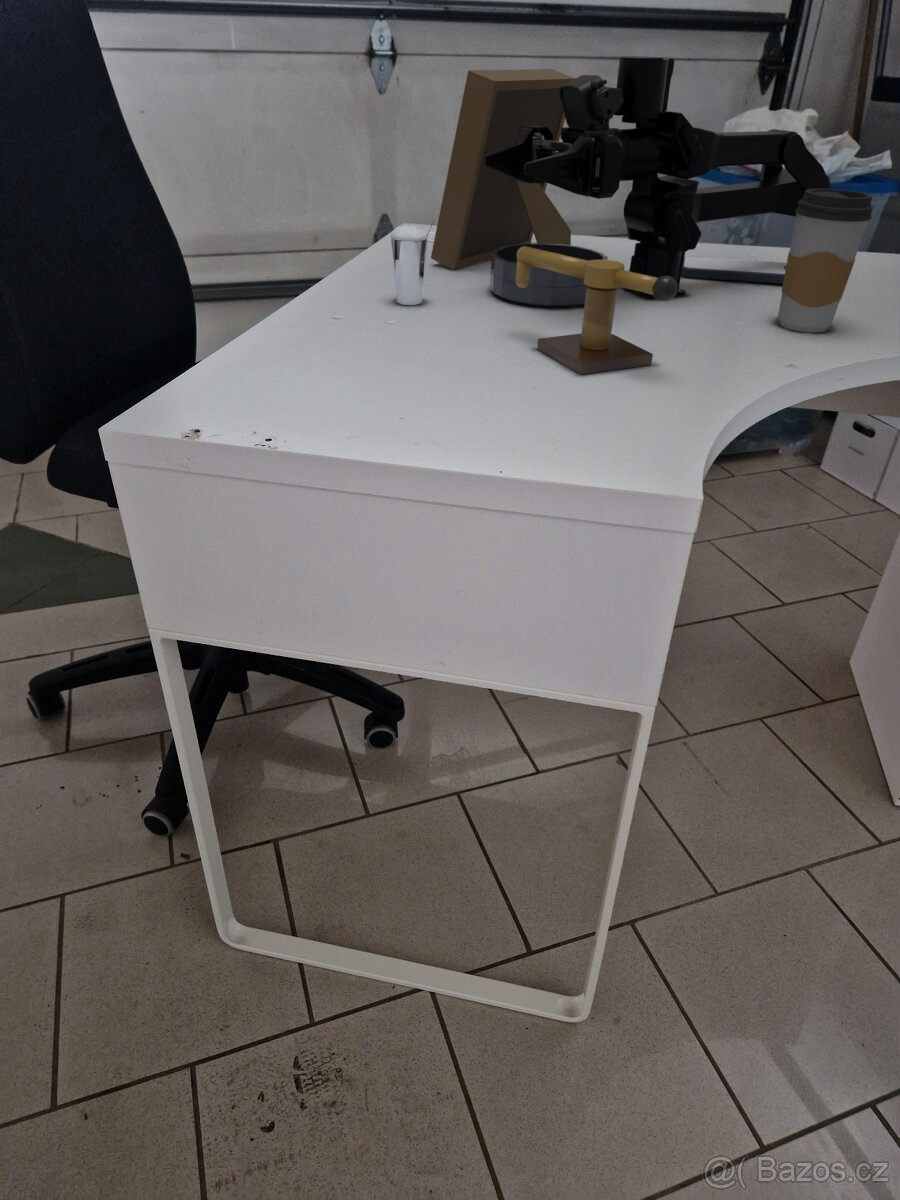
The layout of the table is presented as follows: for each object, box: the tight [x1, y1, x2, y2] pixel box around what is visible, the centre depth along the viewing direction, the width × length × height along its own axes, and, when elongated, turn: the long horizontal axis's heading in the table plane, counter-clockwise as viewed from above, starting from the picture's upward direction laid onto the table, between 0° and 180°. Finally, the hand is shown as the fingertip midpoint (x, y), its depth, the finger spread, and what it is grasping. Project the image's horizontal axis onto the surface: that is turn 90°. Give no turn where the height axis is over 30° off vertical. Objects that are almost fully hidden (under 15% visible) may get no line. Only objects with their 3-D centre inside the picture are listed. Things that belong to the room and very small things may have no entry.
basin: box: [489, 242, 609, 308], centre depth 111 cm, size 15×15×5 cm
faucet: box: [516, 246, 677, 303], centre depth 88 cm, size 21×4×5 cm, turn 44°
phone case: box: [681, 256, 787, 285], centre depth 124 cm, size 9×2×16 cm
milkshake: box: [390, 219, 435, 306], centre depth 104 cm, size 5×5×10 cm
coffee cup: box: [777, 188, 874, 333], centre depth 99 cm, size 8×8×15 cm
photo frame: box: [430, 68, 576, 271], centre depth 121 cm, size 15×22×25 cm
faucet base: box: [536, 286, 654, 376], centre depth 89 cm, size 9×9×7 cm
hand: (504, 164), depth 96 cm, fingers open, 9 cm apart
